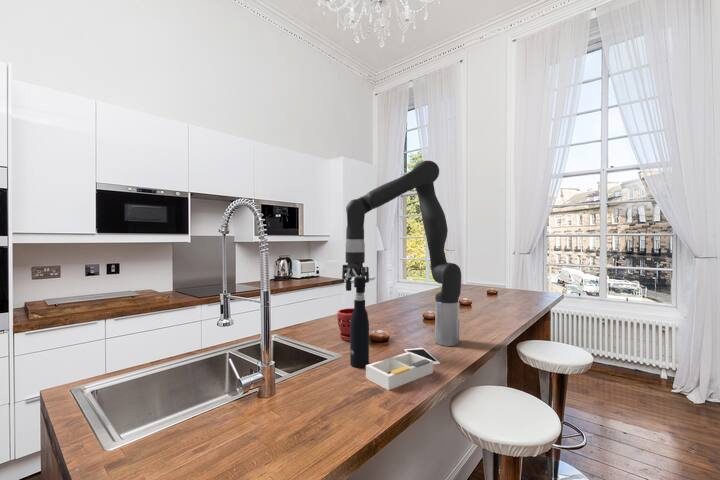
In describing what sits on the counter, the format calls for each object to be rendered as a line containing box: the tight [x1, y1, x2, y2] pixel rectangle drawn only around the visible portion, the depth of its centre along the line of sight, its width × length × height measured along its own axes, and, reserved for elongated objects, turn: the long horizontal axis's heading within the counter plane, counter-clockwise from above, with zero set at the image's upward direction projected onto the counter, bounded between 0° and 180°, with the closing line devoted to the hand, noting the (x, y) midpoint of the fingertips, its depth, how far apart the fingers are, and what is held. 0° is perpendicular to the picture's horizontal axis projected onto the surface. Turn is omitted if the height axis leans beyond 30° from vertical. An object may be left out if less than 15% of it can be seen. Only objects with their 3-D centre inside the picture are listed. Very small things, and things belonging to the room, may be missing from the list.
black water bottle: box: [349, 276, 370, 369], centre depth 115 cm, size 6×6×30 cm
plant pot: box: [336, 307, 369, 342], centre depth 144 cm, size 13×13×12 cm
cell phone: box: [403, 347, 441, 366], centre depth 123 cm, size 8×16×1 cm, turn 12°
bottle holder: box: [365, 352, 434, 391], centre depth 106 cm, size 20×11×5 cm, turn 128°
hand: (355, 292), depth 131 cm, fingers open, 8 cm apart
